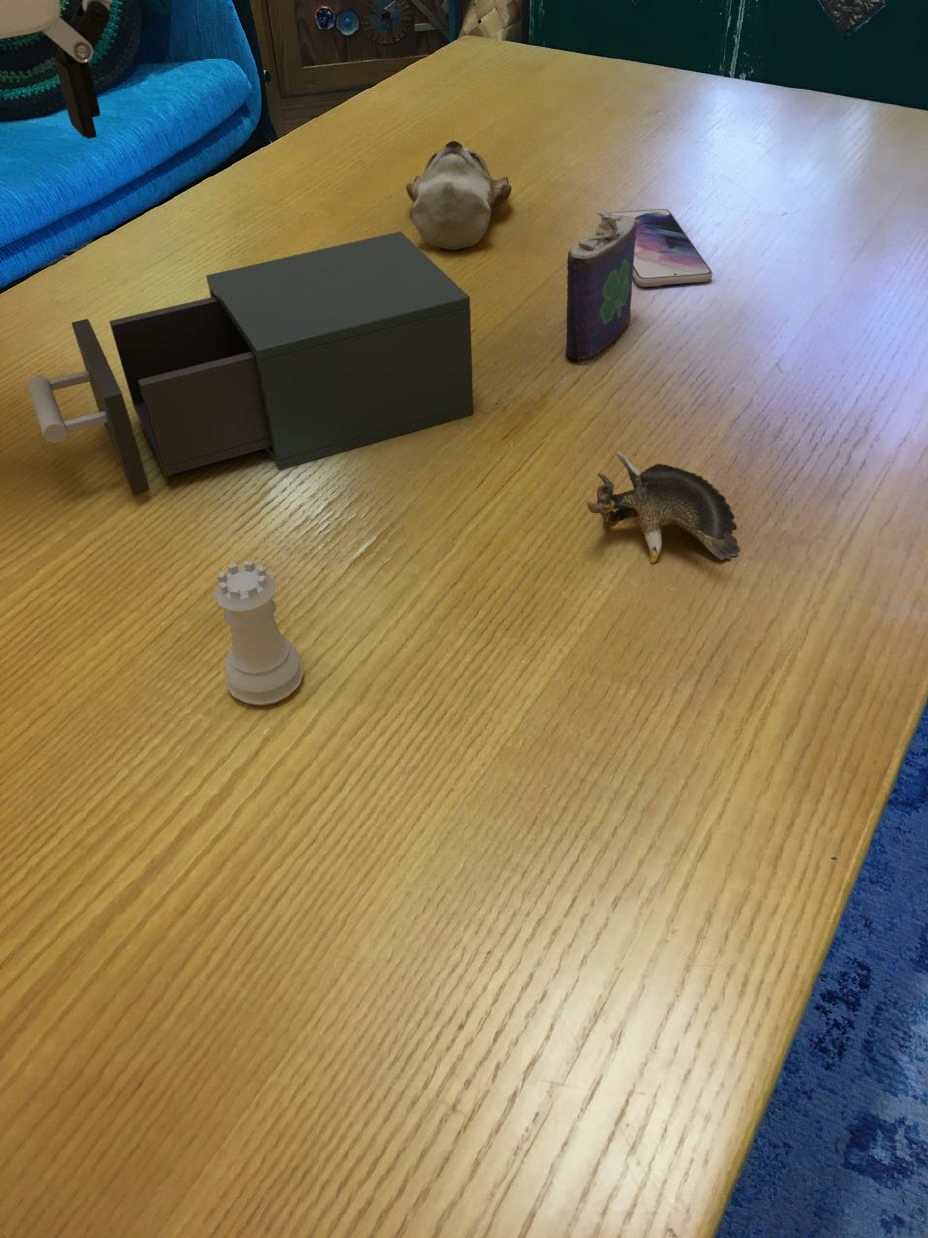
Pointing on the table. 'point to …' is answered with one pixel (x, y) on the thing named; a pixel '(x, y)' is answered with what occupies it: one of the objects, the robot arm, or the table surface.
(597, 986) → the table surface
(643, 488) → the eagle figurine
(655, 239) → the smartphone
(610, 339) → the flask
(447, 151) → the ceramic sculpture
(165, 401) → the drawer
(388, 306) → the cabinet
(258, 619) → the rook chess piece
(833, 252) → the table surface
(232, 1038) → the table surface
